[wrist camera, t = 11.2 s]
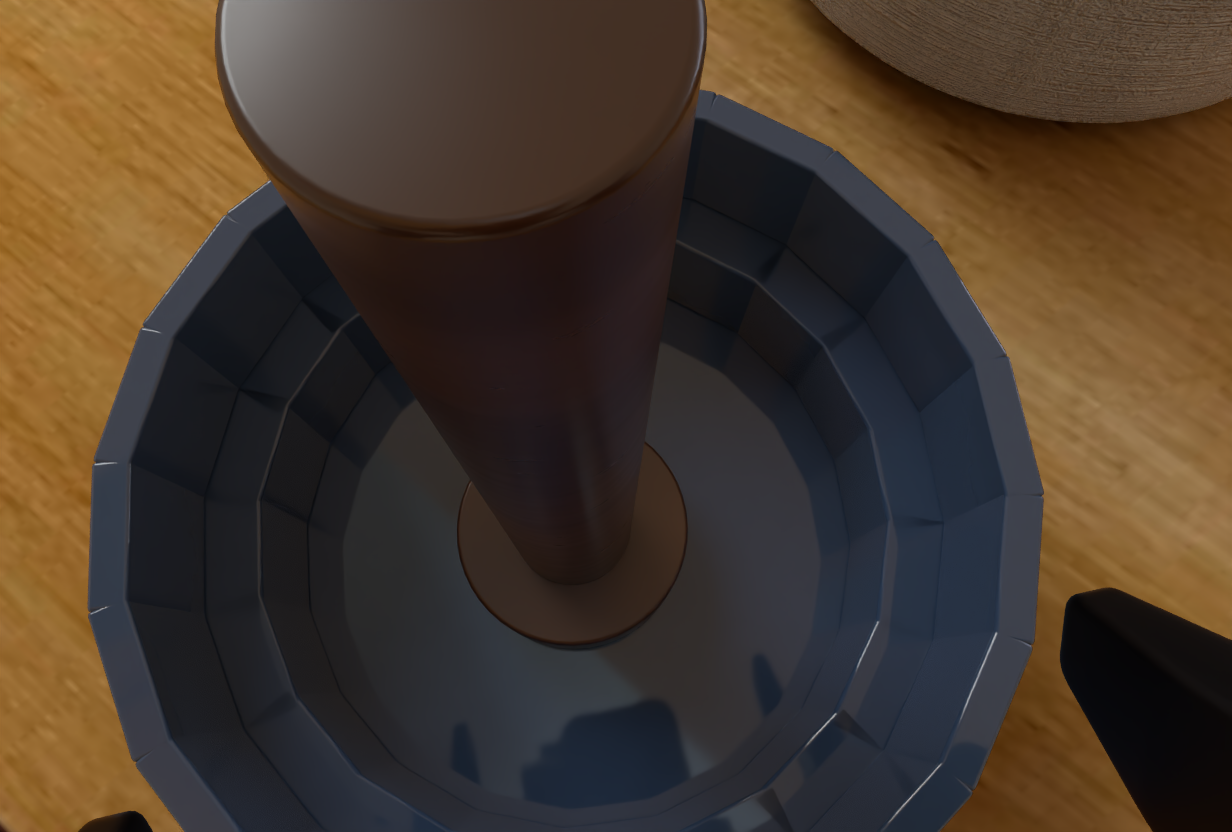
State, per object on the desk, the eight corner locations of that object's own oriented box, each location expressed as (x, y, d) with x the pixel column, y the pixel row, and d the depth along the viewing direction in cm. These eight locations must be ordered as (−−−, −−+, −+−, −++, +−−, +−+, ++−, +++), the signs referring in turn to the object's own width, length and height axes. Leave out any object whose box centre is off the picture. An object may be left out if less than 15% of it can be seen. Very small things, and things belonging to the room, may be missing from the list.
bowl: (1015, 413, 21) (1175, 308, 15) (724, 1061, 17) (785, 1255, 11) (468, 139, 22) (420, -51, 17) (102, 674, 19) (-119, 669, 13)
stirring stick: (718, 498, 19) (1105, -140, 4) (617, 690, 18) (667, 722, 3) (536, 400, 20) (321, -465, 5) (427, 581, 19) (-278, 180, 4)
